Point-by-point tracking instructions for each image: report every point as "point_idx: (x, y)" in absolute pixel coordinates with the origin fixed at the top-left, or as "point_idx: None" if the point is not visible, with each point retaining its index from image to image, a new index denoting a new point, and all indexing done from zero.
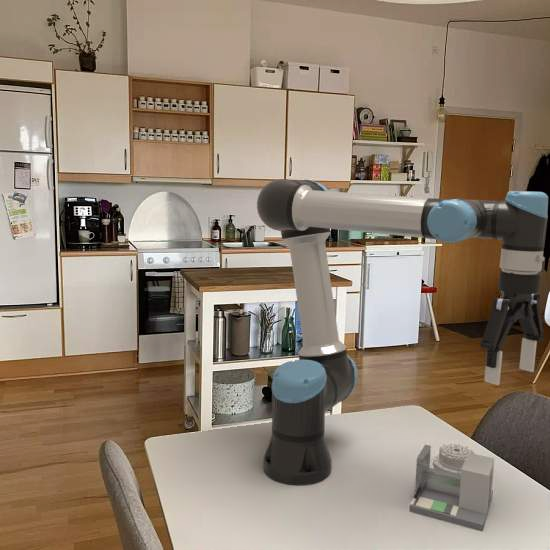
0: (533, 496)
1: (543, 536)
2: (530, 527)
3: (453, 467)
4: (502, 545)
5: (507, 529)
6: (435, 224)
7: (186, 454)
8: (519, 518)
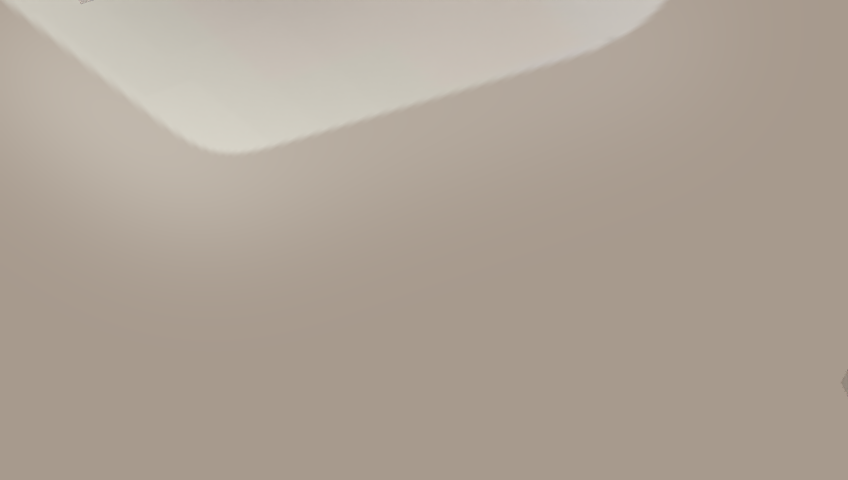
0: (544, 14)
1: (261, 142)
2: (280, 90)
3: None
4: (77, 57)
5: (190, 30)
6: None
7: None
8: (308, 35)
